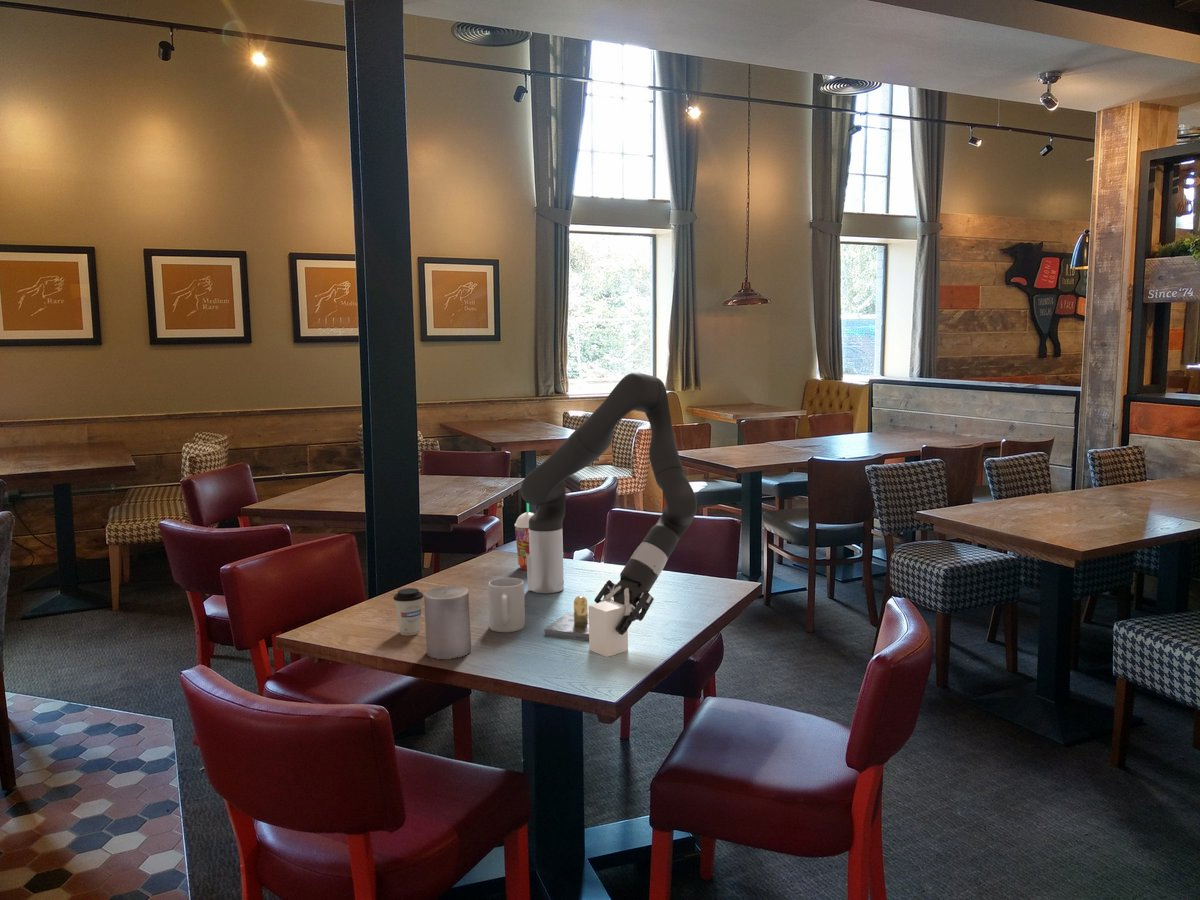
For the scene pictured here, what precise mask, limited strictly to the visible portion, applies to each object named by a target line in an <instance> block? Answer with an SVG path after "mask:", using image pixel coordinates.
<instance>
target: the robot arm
mask: <svg viewBox="0 0 1200 900" xmlns="http://www.w3.org/2000/svg"><path fill="white" fill-rule="evenodd" d="M633 411H636V412H640V413H645V416H646V419H647V420H648V422H649V425H650V429H651V430H650V431H651V436H650V443H649V450H648V454H649V455H648V456H649V462H650V466H651V469H652V472H653V476H654V479H655V481H656V482H655V483H656V485H657V486H658V488H660V489H661V490H662V493H663V496H664V498H665V504H666V505H665V508H664V509H663V511H662V513H661V515H660V517H659V518H658V520H657V522H655V525H653V526H652V527H650V528H649V530H648V532H647V533H646V535H645V537H644V538H643V540H642V541H641V543H640V544H639V545H638V546H637V548H636V549H635V550H634V552H633V554H632V555H631V556H630V558H629V560H628V561H627V562H626V564H625V565H624V567H623V569H621V572H620V573H619V574H620V575H619V577H620V579H619V581H618V582H617V583H614V582H612V581H611V580H609V579H608V580H607V581H605V582H606V583H605V584H604V585H603V587H602V588H601V589H600V591H599V593H598V594H597V595H596V596H595V598H594V602H595V604H596V603H600V602H604V601H609V600H611V601H614V602H617V603H620V604H623V605H625V607H626V616H625V615H624V616H623V617H622V619H621V621H620V622H619V624H618V625H617V627H616V631H617V632H618V633H619V634H621V635H623V634H624V633H625V632H626V631H627V629H629V627H630V626H631V625H632V623H633V622H635V621H636V620H637V621H639V622H641V621H642V620H644V618H645V616H646V614H647V612H648V611H649V609H650V607H651V605H652V604H653V602H654V600H655V599H654V597H653V596H652V595H651V594H650V590H651V589H652V588H653V586H654V584H655V582H656V581H657V580H658V578H659V576H660V575H661V573H662V571H663V570H664V568H665V566H666V563H667V562H668V559H669V558H670V556H671V554H672V553H673V552H674V550H675V548H676V547H677V544H678V542H679V541H680V539H681V538H682V537H683V536H684V534H685V533H686V531H687V530H688V529H689V527H690V525H691V524H692V523H693V520H694V518H695V516H696V514H697V511H698V501H697V498H696V494H695V492H694V490H693V488H692V485H691V484H690V482H689V480H688V478H687V477H686V473H685V469H684V467H683V464H682V460H681V457H680V455H679V451H678V448H677V445H676V441H675V437H674V436H675V435H674V430H673V425H672V423H673V422H672V418H671V411H670V404H669V398H668V393H667V389H666V386H665V383H664V382H663V381H662V379H660V378H659V377H657V376H653V375H650V374H646V373H642V372H630V373H628V374H626V375H625V376H624V377H622V378H621V380H620V381H619V382H618V383H617V384H616V386H614V388H613V389H612V391H611V392H610V393H609V394H608V395H607V397H606V398H605V399H604V401H603V402H602V403H601V404H600V405H599V406H598V407H597V408H596V409H595V410H594V411H593V412H592V414H591V415H589V417H587V419H585V420H584V422H582V423H581V424H580V425H579V426H578V427H577V428H576V429H575V430H574V431H573V432H572V433H570V435H569V436H568V437H567V438H566V440H564V442H562V443H561V444H560V445H559V447H557V448H556V449H555V451H554V452H553V453H552V454H551V455H550V456H549V457H548V458H547V459H545V461H543V462H542V463H541V464H539V465H538V466H537V467H535V468H534V469H533V470H531V471H530V472H529V473H528V474H527V475H525V477H524V479H522V483H521V486H520V493H521V497H522V499H523V501H525V502H526V504H527V503H528V504H529V505H531V506H537V509H536V511H535V513H534V515H533V516H532V517H531V518H530V519H529V549H530V555H529V556H527V570H526V575H527V577H526V578H527V591H531V592H533V593H537V594H553V593H558V592H562V591H563V590H564V589H565V586H564V585H565V584H564V582H565V580H564V575H565V574H564V546H563V545H564V544H563V543H564V542H563V539H564V538H563V521H564V518H565V514H566V483H565V480H566V479H567V478H569V477H570V476H572V475H574V474H576V473H578V472H580V471H581V470H583V469H585V468H586V467H588V466H590V465H591V464H592V463H593V462H595V461H597V460H598V458H599V457H600V456H601V455H603V454H604V453H605V452H606V451H607V449H609V447H610V446H611V444H612V442H613V437H614V433H615V432H614V431H615V428H616V426H617V425H618V423H619V422H621V420H622V419H623V418H624V417H625V416H627V415H628V414H629V413H631V412H633Z"/></svg>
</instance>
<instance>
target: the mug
mask: <svg viewBox="0 0 1200 900" xmlns="http://www.w3.org/2000/svg"><path fill="white" fill-rule="evenodd" d="M524 583H525V582H524V580H523V579H521V578H517V577H501V578H495V579H492V580H490V581H489V582H488V588H487V589H488V610H489V611H488V612H489V614H488V615H489V616H488V617H489V621H488V622H489V624H488V625H489V629H490V630H491V631H493V632H497V633H513V632H518V631H521V630H523V629H524V628H525V627H526V614H525V613H526V611H525V610H526V608H525V584H524Z"/></svg>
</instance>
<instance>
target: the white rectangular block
mask: <svg viewBox="0 0 1200 900" xmlns="http://www.w3.org/2000/svg"><path fill="white" fill-rule="evenodd" d="M588 615H589V640H588V642H589V643H588V644H589V648H588V649H589V651H592V652H594V653H597V654H599V655H601V656H603V657H606V658H608V657H611V656H614V655H618V654H622V653H624V652H628V651H629V636H628V635H629V634H628V633H629V630H628V629H629V628H628V629H627V631H626V632H625V633H624V634H623V635H621V634H619V633H618V632H617V631H616V627H617V625H618V624H619V622H620V621H621V619H622V617H623V616H624V615H625V616H626V607H625V605H623V604H620V603H617V602H614V601H611V600H609V601H604V602H600V603H596V602H595V603H593V604H589V605H588Z"/></svg>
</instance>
